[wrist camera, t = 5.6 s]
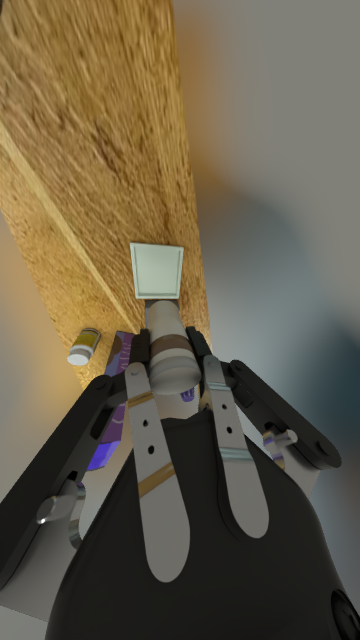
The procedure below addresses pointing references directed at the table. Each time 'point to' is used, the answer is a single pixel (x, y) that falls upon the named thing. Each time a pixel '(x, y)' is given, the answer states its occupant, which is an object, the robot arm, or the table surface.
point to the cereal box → (114, 430)
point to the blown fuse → (170, 352)
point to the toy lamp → (188, 395)
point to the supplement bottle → (84, 347)
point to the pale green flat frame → (156, 270)
